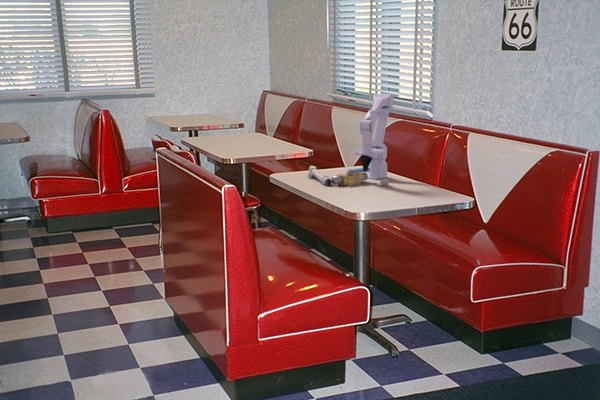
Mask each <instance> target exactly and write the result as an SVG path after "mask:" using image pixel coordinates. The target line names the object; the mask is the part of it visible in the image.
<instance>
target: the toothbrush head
mask: <svg viewBox="0 0 600 400" xmlns="http://www.w3.org/2000/svg"><path fill="white" fill-rule="evenodd" d="M306 174H307V178H308V179H311V180H312V179H313V180H314V179H318V180H319V181H320V183H322V185H325V186H327V187H330V186H331V185H333V184H332V181H331V178H330V176H328V175H325V174H324V173H322V172H321V171H319V170H318V169H317V166H314V165H309V168H308V170H307V172H306Z"/></svg>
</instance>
